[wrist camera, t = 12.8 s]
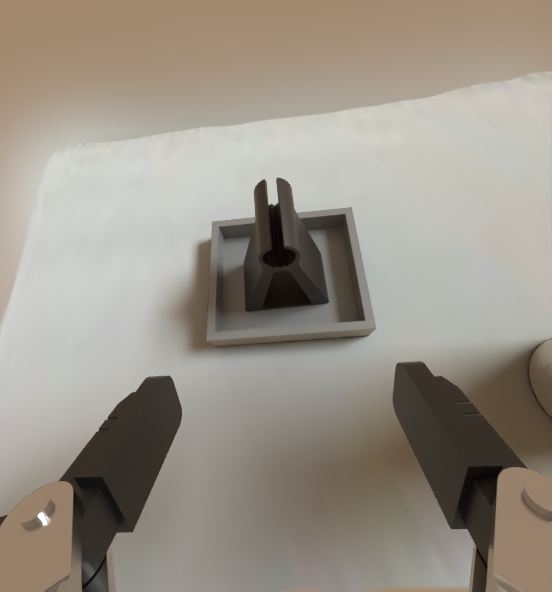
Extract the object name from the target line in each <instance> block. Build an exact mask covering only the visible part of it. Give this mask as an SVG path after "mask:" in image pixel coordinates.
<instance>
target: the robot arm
mask: <svg viewBox="0 0 552 592" xmlns="http://www.w3.org/2000/svg"><path fill="white" fill-rule="evenodd" d="M529 374H530V381H531V385H532V388H533V391H534V393H535V395H536V397H537V399H538V401H539V402H540V404H541V405H542V407H543V408H544V409H545V411H546V412H547V413H548V414H549V415H550V416H551V417H552V339H549V340H548V341H546V342H544V343H542V344H541V345H540V346H539V347H538V348H537V349H536V350H535V352H534V354H533V356H532V358H531V361H530V366H529ZM393 405H394V409H395V413H396V416H397V418H398V420H399V422H400V424H401V426H402V428H403V430H404V432H405V434H406V437H407V439H408V441H409V443H410V445H411V447H412V449H413V451H414V453H415V455H416V457H417V459H418V461H419V464H420V466H421V468H422V470H423V472H424V474H425V476H426V478H427V480H428V482H429V484H430V486H431V488H432V491H433V493H434V495H435V497H436V499H437V501H438V503H439V505H440V507H441V509H442V511H443V513H444V516H445V518H446V520H447V522H448V524H449V526H450V528H451V529H468V531H469V533H470V535H471V537H472V539H473V541H474V543H475V544H474V548H473V556H472V565H471V575H470V584H469V592H552V479H551V478H549V477H547V476H545V475H543V474H541V473H539V472H536V471H533V470H530V469H528V468H527V467H526V466H525V465H524V464H523V463H522V462H521V460H520V459H519V458H518V457H517V456H516V455H515V453H514V452H513V451H512V450H511V449H510V448H509V446H508V445H507V444H506V443H505V442H504V440H503V439H502V438H501V437H500V436H499V435H498V433H497V432H496V431H495V430H494V429H493V428H492V426H491V425H490V424H489V423H488V422H487V421H486V419H485V418H484V417H483V416H481V415H480V412H479V411H478V410H477V409H476V408H475V407H474V405H473V404H470V401H469V399H468V398H467V397H466V396H465V395H464V394H463V392H462V391H461V390H460V389H459V388H458V387H457V386H455V385H454V384H453V383H451V382H450V381H448V380H447V379H445V378H444V377H442V376H437V377H434V375H433V374H432V373H431V372H430V370H429V369H428V368H427V366H426V365H425V364H424V363H423V362H403V363H397V365H396V369H395V380H394V391H393ZM181 418H182V408H181V404H180V401H179V398H178V395H177V392H176V389H175V385H174V382H173V380H172V378H171V377H170V376H155V377H147V378H146V379H145V380H144V381H143V383H142V384H141V385H140V387H139V388H138V390H137V391H136V392H133V393H131V394H130V395H128V396H127V397H126V398H125V399H124V400H122V401H121V402H120V403H119V404H118V405H117V406H116V407H115V409H114V410H113V411H112V412H111V414H110V415H109V416H108V420H105V422H104V423H103V424H102V426H101V427H100V428H99V431H98V432H96V433H95V435H94V436H93V437H92V439H91V440H90V441H89V442H88V444H87V445H86V446H85V448H84V449H83V450H82V452H81V453H80V454H79V456H78V457H77V458H76V459H75V461H74V462H73V463H72V465H71V466H70V467H69V469H68V470H67V471H66V473H65V474H64V475H63V476H62V478H61V479H60V480H59V481H57V482H53V483H50V484H47V485H45V486H43V487H41V488H39V489H37V490H36V491H34V492H33V493H31V494H30V495H28V496H27V497H26V498H25V499H23V500H22V501H21V502H20V503H19V504H18V505H17V506H16V507H15V508H14V509H13V510H12V511H11V512H10V513H9V514H8V515H6V516H3V517H0V592H115V581H114V569H113V557H112V550H111V547H110V545H111V542H112V540H113V538H114V536H115V534H116V533H117V532H133V530H134V528H135V526H136V523H137V521H138V519H139V517H140V514H141V512H142V510H143V508H144V505H145V503H146V501H147V498H148V496H149V494H150V492H151V489H152V487H153V485H154V483H155V480H156V478H157V476H158V474H159V471H160V469H161V467H162V464H163V462H164V460H165V458H166V455H167V453H168V451H169V449H170V446H171V444H172V442H173V440H174V437H175V435H176V433H177V430H178V428H179V426H180V423H181Z"/></svg>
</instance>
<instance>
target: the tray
mask: <svg viewBox="0 0 552 592" xmlns="http://www.w3.org/2000/svg"><path fill="white" fill-rule="evenodd" d="M297 214H298V216H299V218H300V219H301V221H302V223H303V224H304V226H305V228H306V229H307V231H308V233H309V234H310V236H311V237H312V239H313V241H314V242H315V244H316V246H317V247H318V249H319V251H320V252H321V256H322V262H323V268H324V274H325V280H326V286H327V292H328V298H329V303H326V304H317V305H308V306H298V307H286V308H279V309H269V310H260V311H250V312H247V311H245V287H244V259H245V255H246V252H247V248H248V245H249V241H250V237H251V234H252V230H253V227H254V223H255V219H256V218H255V217H253V218H244V219H234V220H224V221H215V222H212V237H211V256H210V276H209V296H208V315H207V335H206V341H208V342H209V343H211V344H212V345H214V346H215V347H219V346H233V345H247V344H261V343H276V342H290V341H304V340H318V339H332V338H346V337H360V336H369V335H370V334H371V333H372V332H373V331H374V330H375V329H376V326H375V321H374V316H373V311H372V306H371V301H370V296H369V291H368V286H367V281H366V276H365V271H364V266H363V262H362V257H361V252H360V247H359V242H358V237H357V232H356V227H355V222H354V217H353V212H352V207H350V208H341V209H331V210H321V211H312V212H302V213H297Z"/></svg>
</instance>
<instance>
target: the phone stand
mask: <svg viewBox="0 0 552 592" xmlns="http://www.w3.org/2000/svg"><path fill="white" fill-rule="evenodd" d="M276 183H277V192H278V202H279V203H277V204H276V205H275V206H274V205H272V204H271V205H269V206H268V195H267V183H266V180H265V179H264V180H262V181H261V182H259V183H258V184H257V186H256V187H255V190H254V201H255V218H256V219H255V223H254V227H253V230H252V234H251V237H250V241H249V245H248V248H247V252H246V255H245V259H244V287H245V311H247V312H250V311H260V310H269V309H279V308H286V307H298V306H308V305H317V304H326V303H329V298H328V292H327V286H326V280H325V274H324V268H323V262H322V256H321V252H320V251H319V249H318V247H317V246H316V244H315V242H314V241H313V239H312V237H311V236H310V234H309V233H308V231H307V229H306V228H305V226H304V224H303V223H302V221H301V219H300V218H299V216H298V214H297V213H296V211H295V210H294V203H293V196H292V189H291V186H290V184H289V183H288V182H287V181H285V180H284V179H281V178H277V180H276Z"/></svg>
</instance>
